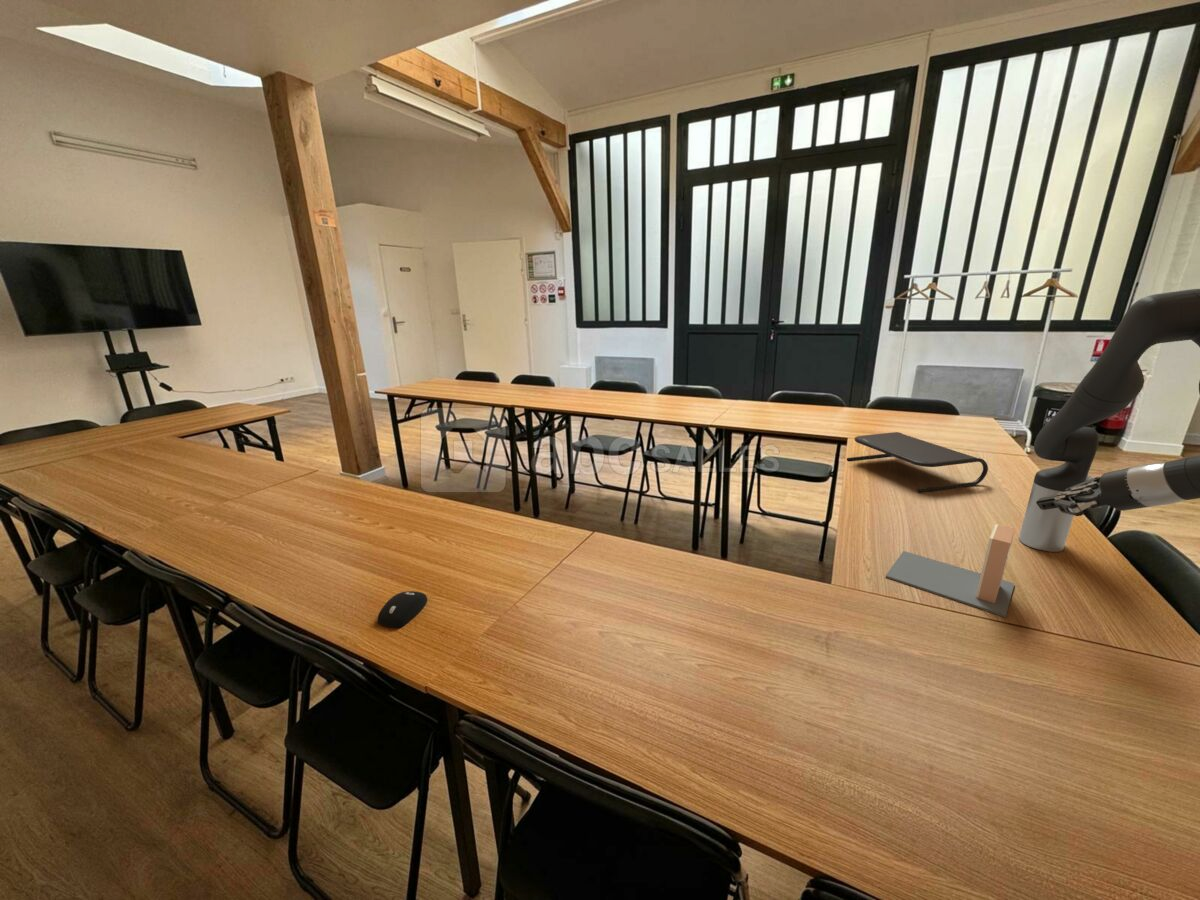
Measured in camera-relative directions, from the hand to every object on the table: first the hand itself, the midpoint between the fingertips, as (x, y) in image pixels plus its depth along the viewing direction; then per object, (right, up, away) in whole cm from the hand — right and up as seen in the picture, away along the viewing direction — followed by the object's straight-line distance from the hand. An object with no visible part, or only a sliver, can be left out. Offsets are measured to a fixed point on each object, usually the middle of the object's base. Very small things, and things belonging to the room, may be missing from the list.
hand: (1039, 504), depth 103 cm
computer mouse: (-141, -26, +8) cm, 144 cm away
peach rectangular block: (-6, -21, +7) cm, 23 cm away
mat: (-11, -20, +12) cm, 26 cm away
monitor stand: (+25, +3, +82) cm, 86 cm away
